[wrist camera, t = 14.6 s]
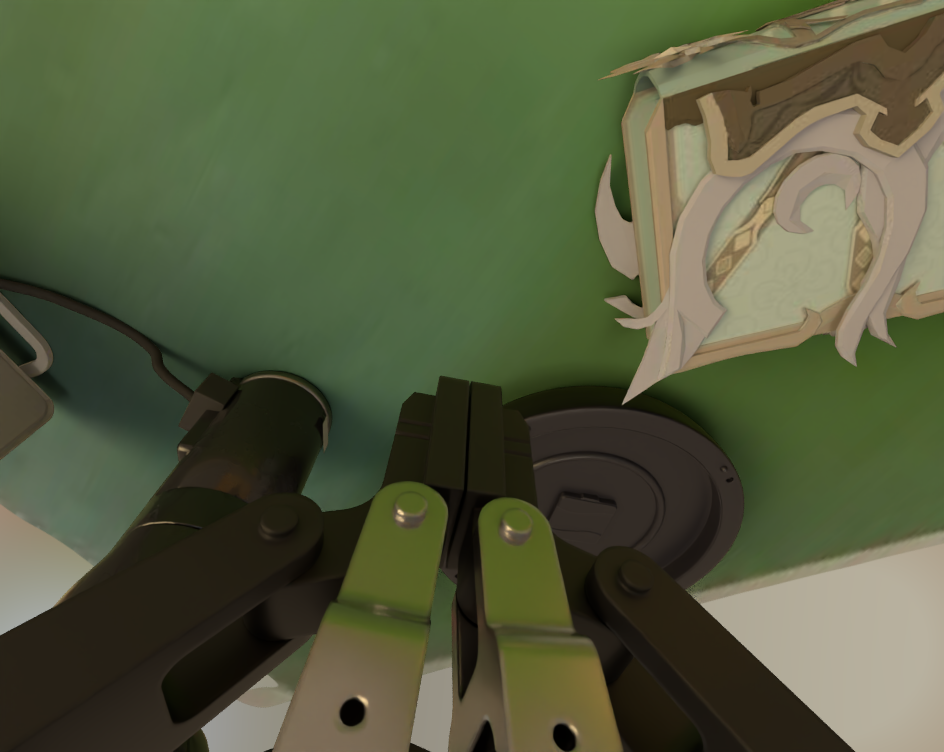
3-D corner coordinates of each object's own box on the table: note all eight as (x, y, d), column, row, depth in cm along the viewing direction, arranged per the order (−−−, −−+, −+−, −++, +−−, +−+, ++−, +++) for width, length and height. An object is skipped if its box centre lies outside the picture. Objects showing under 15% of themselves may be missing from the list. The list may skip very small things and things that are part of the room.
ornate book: (1085, -120, 26) (545, 70, 31) (1366, -207, 18) (573, 70, 22) (981, 265, 38) (600, 362, 42) (1122, 318, 30) (632, 432, 34)
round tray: (458, 341, 42) (412, 556, 58) (454, 379, 37) (405, 603, 53) (779, 402, 44) (649, 591, 60) (816, 446, 39) (664, 639, 55)
